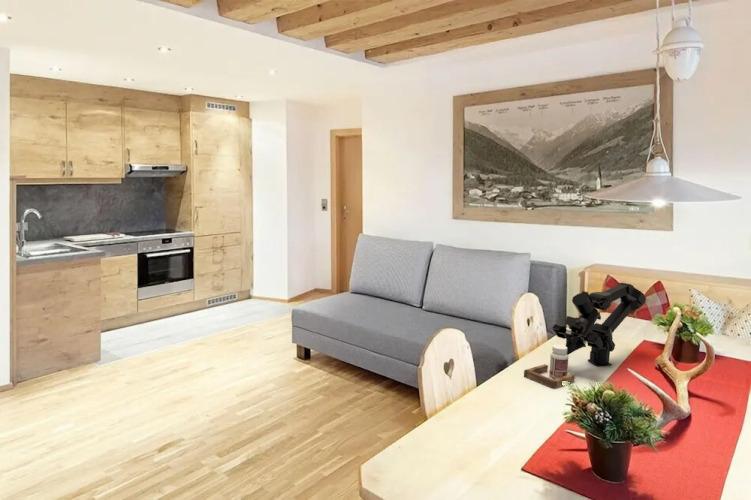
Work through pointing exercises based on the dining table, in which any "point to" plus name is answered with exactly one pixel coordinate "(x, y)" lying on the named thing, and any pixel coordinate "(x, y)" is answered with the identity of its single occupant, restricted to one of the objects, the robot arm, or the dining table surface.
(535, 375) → the brown wooden tray
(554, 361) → the pill bottle
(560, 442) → the dining table surface
